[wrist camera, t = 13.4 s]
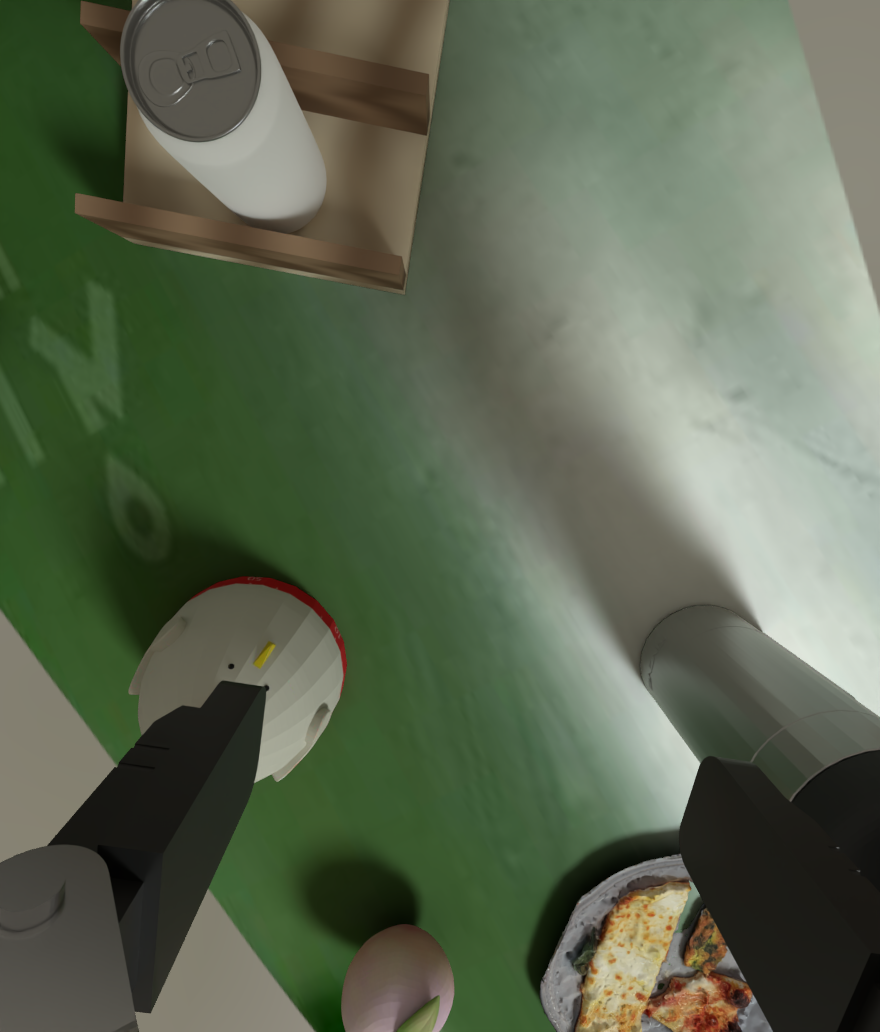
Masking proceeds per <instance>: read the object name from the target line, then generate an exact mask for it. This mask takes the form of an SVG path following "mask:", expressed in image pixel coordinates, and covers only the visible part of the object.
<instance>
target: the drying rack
mask: <svg viewBox="0 0 880 1032" xmlns="http://www.w3.org/2000/svg"><path fill="white" fill-rule="evenodd" d="M231 1H232V2H233V3H234V4H235V5H236V6H237V7H238V8H239V9H240V11H242V12H243V13H244V14H246V15H247V16H248V17H249V18H250V19H251V20H252V21H253V22H254V23H255V24H256V25H257V26H258V28H259V29H260V30H261V31H262V33H263V34H264V36H265V37H266V39H267V40H268V42H269V44H270V45H271V47H272V49H273V51H274V53H275V55H276V57H277V59H278V61H279V63H280V65H281V67H282V70H283V72H284V74H285V76H286V78H287V80H288V82H289V84H290V87H291V89H292V91H293V93H294V95H295V97H296V100H297V102H298V104H299V106H300V108H301V110H302V112H303V115H304V117H305V119H306V121H307V123H308V126H309V128H310V130H311V132H312V134H313V137H314V139H315V141H316V143H317V145H318V148H319V150H320V152H321V155H322V158H323V161H324V164H325V169H326V179H327V182H326V192H325V196H324V200H323V202H322V205H321V207H320V209H319V211H318V212H317V214H316V215H315V216H314V218H313V219H312V220H311V221H310V222H309V223H308V224H306V225H305V226H304V227H302V228H301V229H299V230H297V231H294V232H291V233H287V234H284V233H279V232H274V231H269V230H264V229H259V228H253V227H251V226H249V225H248V224H246V223H245V222H244V221H242V220H241V219H240V218H239V217H238V216H237V215H235V214H234V213H233V212H232V211H231V210H230V209H229V208H228V207H227V206H225V205H224V204H223V203H222V202H221V201H220V200H219V199H218V198H217V197H216V196H214V195H213V194H212V193H211V192H210V191H209V190H208V189H207V188H206V187H205V186H204V185H203V184H201V183H200V182H199V181H198V180H197V179H196V178H195V177H194V176H193V175H192V174H191V173H190V172H188V171H187V170H186V169H185V168H184V167H183V166H182V165H181V164H180V163H179V162H178V161H177V160H176V159H175V158H173V157H172V156H171V155H170V154H169V153H168V152H167V151H166V150H165V149H164V148H163V147H162V146H161V145H160V144H159V142H158V141H157V140H156V139H155V138H154V136H153V135H152V134H151V132H150V131H149V130H148V128H147V127H146V125H145V123H144V121H143V119H142V117H141V115H140V113H139V111H138V108H137V106H136V104H135V103H134V101H133V99H132V97H131V95H130V93H129V91H128V106H127V128H126V150H125V172H124V194H123V202H119V201H114V200H109V199H104V198H98V197H93V196H88V195H83V194H78V193H75V213H76V214H78V215H80V216H82V217H84V218H86V219H88V220H90V221H92V222H94V223H96V224H98V225H100V226H101V227H103V228H105V229H107V230H109V231H111V232H113V233H115V234H117V235H119V236H121V237H123V238H125V239H127V240H129V241H131V242H133V243H135V244H140V245H145V246H151V247H156V248H161V249H166V250H172V251H177V252H182V253H187V254H193V255H198V256H203V257H208V258H214V259H219V260H224V261H229V262H235V263H240V264H245V265H250V266H256V267H261V268H266V269H271V270H277V271H282V272H287V273H293V274H298V275H303V276H308V277H314V278H319V279H324V280H329V281H335V282H340V283H345V284H350V285H356V286H361V287H366V288H371V289H377V290H382V291H387V292H392V293H398V294H403V295H405V290H406V283H407V277H408V270H409V264H410V257H411V251H412V244H413V238H414V231H415V224H416V218H417V211H418V205H419V198H420V192H421V185H422V179H423V172H424V166H425V159H426V153H427V146H428V140H429V133H430V126H431V120H432V113H433V107H434V100H435V94H436V87H437V81H438V74H439V68H440V61H441V55H442V48H443V42H444V35H445V28H446V22H447V15H448V9H449V2H450V0H231ZM137 2H138V0H132V8H133V7H134V5H135V4H136V3H137ZM130 12H131V11H128V10H123V9H118V8H113V7H109V6H104V5H99V4H94V3H90V2H85V1H81V15H80V24H81V25H82V26H83V27H84V28H85V29H86V30H87V31H88V32H89V33H90V34H91V35H92V36H93V37H94V38H95V39H96V40H97V42H98V43H99V44H100V45H101V46H102V47H103V48H104V49H105V50H106V51H107V52H108V53H109V54H110V55H111V56H112V57H113V58H114V59H115V61H116V62H117V63H118V64H119V65H120V66H121V60H120V44H121V37H122V32H123V28H124V25H125V22H126V20H127V17H128V15H129V13H130Z"/></svg>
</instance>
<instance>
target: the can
mask: <svg viewBox="0 0 880 1032" xmlns="http://www.w3.org/2000/svg"><path fill="white" fill-rule="evenodd" d="M120 60H121V68H122V73H123V77H124V81H125V84H126V86H127V89H128V91H129V93H130V95H131V97H132V99H133V101H134V103H135V104H136V106H137V108H138V111H139V113H140V115H141V117H142V119H143V121H144V123H145V125H146V127H147V128H148V130H149V131H150V132H151V134H152V135H153V136H154V138H155V139H156V140H157V141H158V142H159V144H160V145H161V146H162V147H163V148H164V149H165V150H166V151H167V152H168V153H169V154H170V155H171V156H172V157H173V158H175V159H176V160H177V161H178V162H179V163H180V164H181V165H182V166H183V167H184V168H185V169H186V170H187V171H188V172H190V173H191V174H192V175H193V176H194V177H195V178H196V179H197V180H198V181H199V182H200V183H201V184H203V185H204V186H205V187H206V188H207V189H208V190H209V191H210V192H211V193H212V194H213V195H214V196H216V197H217V198H218V199H219V200H220V201H221V202H222V203H223V204H224V205H225V206H227V207H228V208H229V209H230V210H231V211H232V212H233V213H234V214H235V215H237V216H238V217H239V218H240V219H241V220H242V221H244V222H245V223H246V224H248V225H249V226H251V227H253V228H259V229H264V230H269V231H274V232H279V233H284V234H287V233H291V232H294V231H297V230H299V229H301V228H302V227H304V226H305V225H306V224H308V223H309V222H310V221H311V220H312V219H313V218H314V216H315V215H316V214H317V212H318V211H319V209H320V207H321V205H322V202H323V200H324V196H325V192H326V182H327V179H326V169H325V164H324V161H323V158H322V155H321V152H320V150H319V148H318V145H317V143H316V141H315V139H314V137H313V134H312V132H311V130H310V128H309V126H308V123H307V121H306V119H305V117H304V115H303V112H302V110H301V108H300V106H299V104H298V102H297V100H296V97H295V95H294V93H293V91H292V89H291V87H290V84H289V82H288V80H287V78H286V76H285V74H284V72H283V70H282V67H281V65H280V63H279V61H278V59H277V57H276V55H275V53H274V51H273V49H272V47H271V45H270V44H269V42H268V40H267V39H266V37H265V36H264V34H263V33H262V31H261V30H260V29H259V28H258V26H257V25H256V24H255V23H254V22H253V21H252V20H251V19H250V18H249V17H248V16H247V15H246V14H244V13H243V12H242V11H240V9H239V8H238V7H237V6H236V5H235V4H234V3H233V2H232V1H231V0H138V2H137V3H136V4H135V5H134V7H133V8H132V10H131V12H130V13H129V15H128V17H127V20H126V22H125V25H124V28H123V32H122V37H121V44H120Z"/></svg>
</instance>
